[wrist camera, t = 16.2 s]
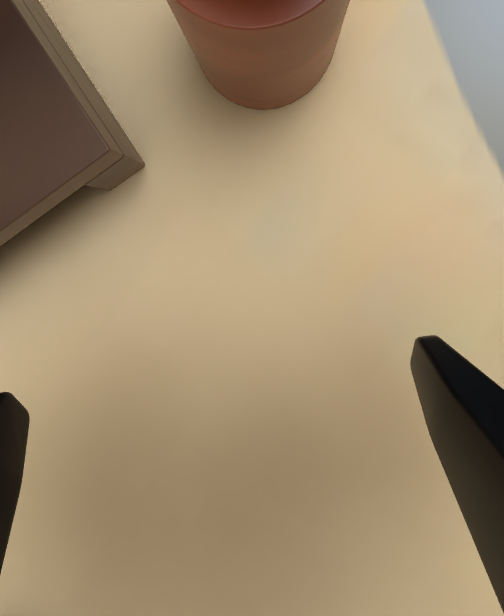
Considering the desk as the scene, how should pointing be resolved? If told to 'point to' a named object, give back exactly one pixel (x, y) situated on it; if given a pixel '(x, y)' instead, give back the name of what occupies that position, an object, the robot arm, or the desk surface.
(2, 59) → the brown l-shaped bookend
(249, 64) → the wooden toy
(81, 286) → the desk surface
